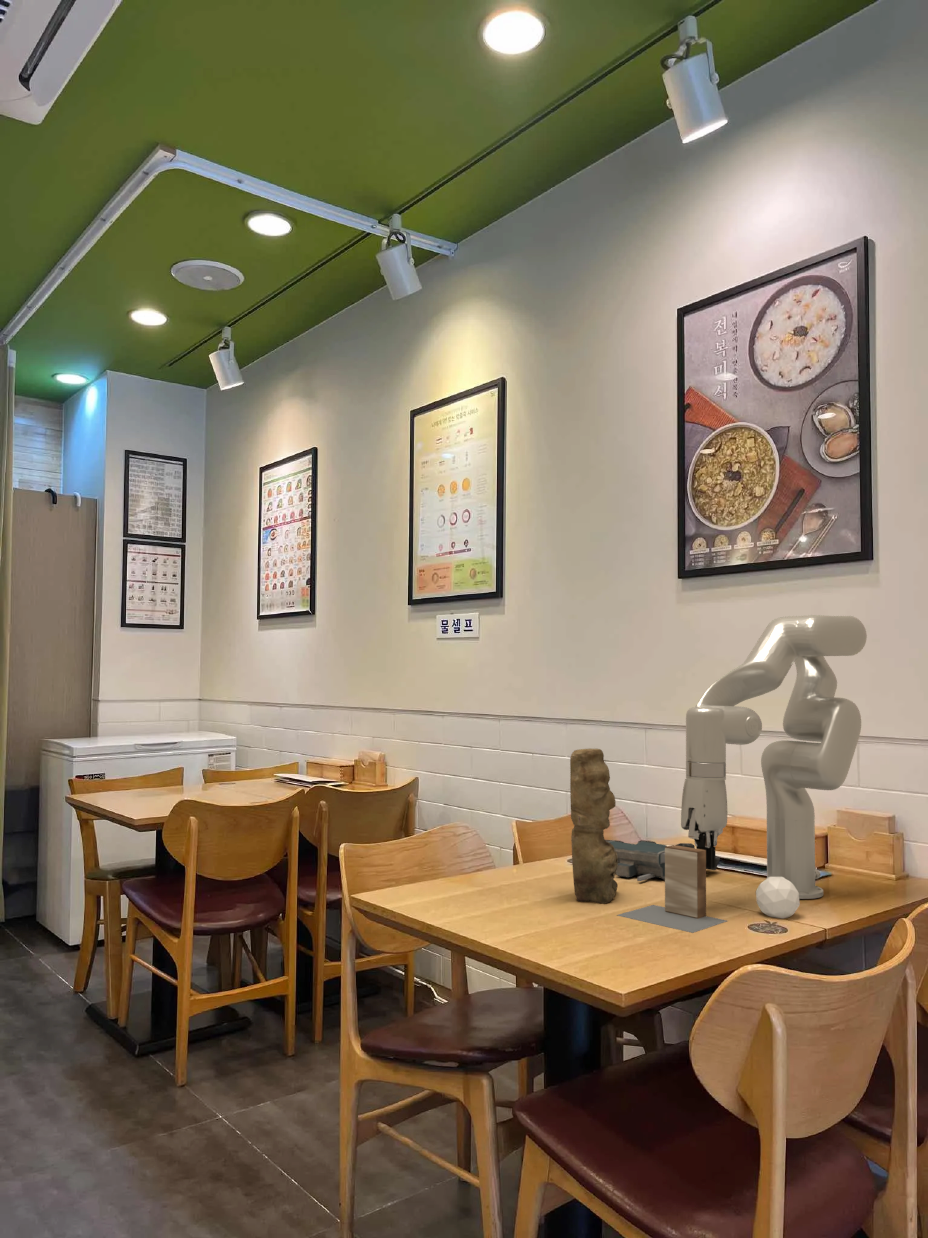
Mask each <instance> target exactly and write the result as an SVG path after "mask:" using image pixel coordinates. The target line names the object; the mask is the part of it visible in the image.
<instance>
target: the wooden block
mask: <svg viewBox="0 0 928 1238" xmlns="http://www.w3.org/2000/svg"><path fill="white" fill-rule="evenodd" d="M676 845H677V844H671V845H666V847H665V880H664V907H665V912H670V913H674V914H679V915H684V916H688V917H693V918H697V919H698V918H702V917H705V916H707V869H706V850H702V849H696V847H695V848H689V847H683V846H676Z"/></svg>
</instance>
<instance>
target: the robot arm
mask: <svg viewBox="0 0 928 1238" xmlns="http://www.w3.org/2000/svg"><path fill="white" fill-rule="evenodd" d="M867 636H868V635H867V629H866V627H865V625H864V623H863V622H862V621H861V620H860V619H859V618H857V617H855V616H854V615H853V616H851V615H821V614H818V615H817V614H814V615H813V614H810V615H809V614H808V615H793V616H790V615H789V616H782V617H777V618H774V619H773V620H771V621H770V622H769V623H768V625H767V626H766V627H765V629H764V630H763V632H762V633H761V635H760V637H759V638H758V640H757V642H756V643H755V645H754V646H753V648H752V649H751V651H750V653H749V654H748V656H747V657H746V659H745V660H744V662H743V663H742V664H741V665H738V666H737V667H736V668H735V667H734V668H733V669H732V670H730V671H728V673H726V674H724V675H723V676H722V677H720V678H719V679H717V680H716V681H714V682H713V683H712V684H711V685H710V686H709V687H708V688H706V690H705V691H704V693H702V695H701V697H700V699H699V700H698V702H697V704H696V705H695V707H690V708H689V709H687V711H686V713H685V778H684V781H683V782H684V783H683V789H682V797H681V807H680V808H681V811H680V812H681V813H680V826H681V829H682V830H684V831H688V834H687V837H688V838H689V839H692V840H694V846H695V849H702V850H706V868H707V869H706V870H709V869H711V868H715V856H716V847H717V846H718V837H719V836H720V835H722V834H723V832H724V829H725V828H726V826H727V824H728V795H727V784H726V780H727V770H726V769H727V768H726V767H727V764H726V763H727V761H726V760H727V745H738V746H745V745H749V744H752V743H753V742H756V740H757V739H758V738H759V737H760V735H761V734H762V729H763V723H762V719H761V717H760V716H759V714H758V713H757V711H754V710H753V709H752V708H749V707H746V706H745V707H744V706H737V705H738V704H740V703H742V702H744V701H748V700H751V699H753V698H756V697H760V696H764V695H765V694H768V693H770V692H773V691H775V690H776V689H779V687H780V686H781V685H782V683H783V681H784V680H785V678H786V676H787V674H788V673H789V671H790V670H791V668H792V667H793V665H794V664H795V665H794V666H795V669H796V670H795V671H796V676H795V683H794V685H793V688H792V691H791V694H790V697H789V699H788V702H787V705H786V708H785V711H784V716H783V719H782V721H783V722H782V728H783V731H784V733H785V734H786V735H787V736H788V737H790V738H792V739H794V740H778V741H777V740H775V741H774V742H771V743H770V744H767V746H766V747H765V748H764V750H763V751H762V753H761V757H760V758H761V759H760V765H761V767H760V768H761V772H762V777H763V781H764V788H765V796H766V797H765V799H766V879H767V878H768V877H784V878H785V879H787V880H788V881H790V882H791V883H792V884H793V885H794V886H795V888H796V889H797V891H798V892H799V900H812V899H813V900H814V899H820V898H822V897H823V896H824V888H822V887H821V886H817V885H816V880H817V879H819V878H821V872H820V870H819V869H817V868H816V845H815V844H816V842H815V839H816V838H815V837H816V836H815V834H816V832H815V826H816V825H815V824H816V823H815V819H816V817H815V807H814V803H813V801H812V799H811V796H810V795H809V793H808V791H807V789H811V790H821V791H835V790H837V789H839V788H840V787H842V785H843V784H844V783H845V781H846V779H847V777H848V774H849V770H850V767H851V765H852V763H853V758H854V755H855V752H856V749H857V745H858V743H859V738H860V736H861V735H860V734H861V730H862V716H861V713H860V712H861V711H860V709H859V707H858V706H857V704H856V703H855V702H853V701H852V700H850V699H848V698H843V697H835V695H836V692H837V688H838V679H837V678H836V674H835V673H834V670H833V669H832V667H831V666H830V664H829V663H828V661H827V660H826V658H825V657H846V656H847V657H852V656H856V655H857V654H859V653H861V652H862V650H863V649H864V648H865V646H866V643H867V638H868V637H867Z"/></svg>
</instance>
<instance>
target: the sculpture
mask: <svg viewBox="0 0 928 1238" xmlns="http://www.w3.org/2000/svg"><path fill="white" fill-rule="evenodd" d="M569 757H570V760H569V762H570V764H569V765H570V767H569V769H570V770H569V771H570V773H569V774H570V775H569V777H570V780H569V781H570V783H569V784H570V785H569V787H570V788H569V789H570V792H569V794H570V797H569V798H570V819H571V821H572V824H573V828H572V829H571V835H570V837H571V839H570V841H571V862H572V863H571V864H572V877H573V888H574V895H575V897H576V900H577V901H578V902H583V903H584V902H592V903H593V902H594V903H598V904H604V905H605V904H607V903H608V904H609V903H611V901H612V900H613V899H614V898H615V895H616V893H617V890H618V883H617V881H616V880H615V876H616V870H617V867H618V858H617V852H615V851H614V846H613V845H612V844H611V843H609V842H607V841H605V840H606V839H605V836H604V832H605V831H604V830H607V829H608V828H609V827H610V826H611V822H610V819H609V818H610V813H611V812H610V810H613V809H614V808H615V807H616V805H617V804H616V796H615V793H613V791H611V787H610V783H609V782H610V780H611V777H610V776H611V775H610V774H611V773H610V769H609V766H608V765H607V764H606V762H605V760H604V757H605V755H604V751H603V750H602V749H600V748H580V749H575V750H573V752H572V753H571V754H570V756H569Z"/></svg>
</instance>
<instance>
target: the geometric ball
mask: <svg viewBox="0 0 928 1238" xmlns="http://www.w3.org/2000/svg"><path fill="white" fill-rule="evenodd" d="M755 895H756V896H755V898H756V899H755V900H756V904H757V906H758V908H759V909H760V911H761V913H763V914H764V915H765V916H767V917H771V918H775V919H787V918H790V917H792V916H793V915H794V914H795V913H796V911H797V910H798V909H799V907H800V904H801V903H800V899H799V892H798V891H797V889H796V888H795V886H794V885H793V884H792V883H791V882H790V881H788V880H787V879H785V878H784V877H768V878H767V877H766V878H765V879H764V880H763V881H761V882H760V883H759V884H758V887H757V889H756V891H755Z"/></svg>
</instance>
